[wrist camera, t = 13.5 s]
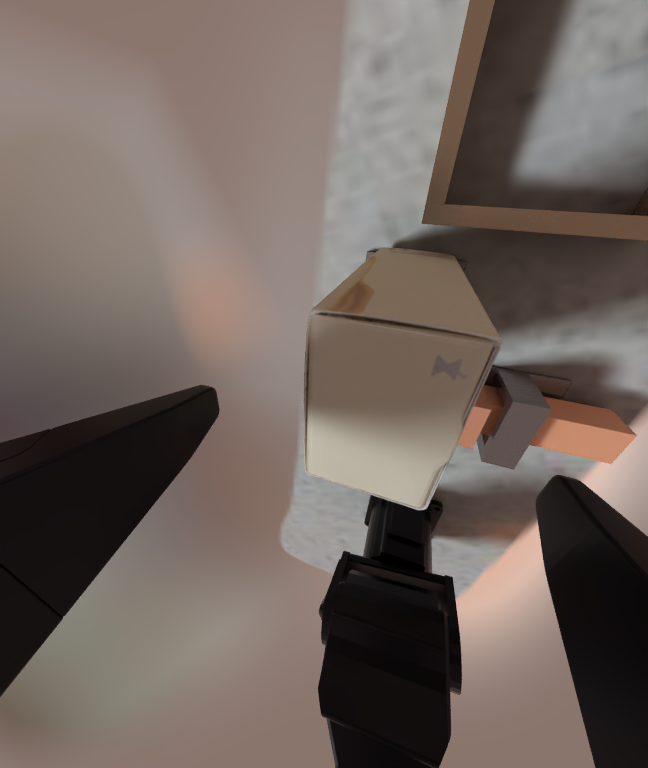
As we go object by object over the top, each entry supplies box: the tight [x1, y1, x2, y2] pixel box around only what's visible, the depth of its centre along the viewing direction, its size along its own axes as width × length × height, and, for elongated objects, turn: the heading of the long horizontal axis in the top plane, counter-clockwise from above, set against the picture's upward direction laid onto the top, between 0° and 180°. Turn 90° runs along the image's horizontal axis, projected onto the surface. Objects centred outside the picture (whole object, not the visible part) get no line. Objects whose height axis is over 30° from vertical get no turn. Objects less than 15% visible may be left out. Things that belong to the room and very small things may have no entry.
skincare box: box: [304, 248, 502, 510], centre depth 12 cm, size 6×4×12 cm
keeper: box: [477, 366, 571, 470], centre depth 17 cm, size 5×9×4 cm, turn 86°
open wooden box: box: [422, 0, 648, 241], centre depth 10 cm, size 10×10×3 cm
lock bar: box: [457, 385, 637, 464], centre depth 17 cm, size 3×9×4 cm, turn 86°
